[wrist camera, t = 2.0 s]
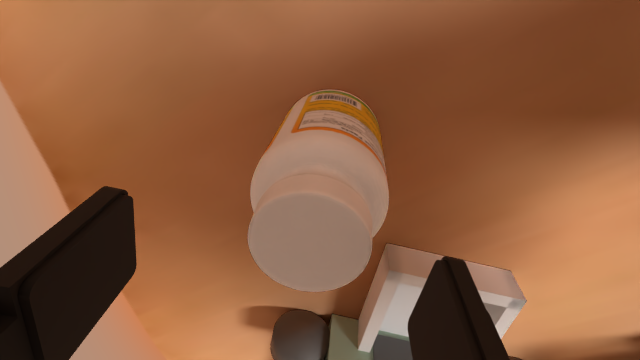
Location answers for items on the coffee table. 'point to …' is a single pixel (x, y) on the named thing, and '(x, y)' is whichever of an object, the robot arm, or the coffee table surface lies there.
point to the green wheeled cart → (388, 312)
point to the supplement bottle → (319, 193)
